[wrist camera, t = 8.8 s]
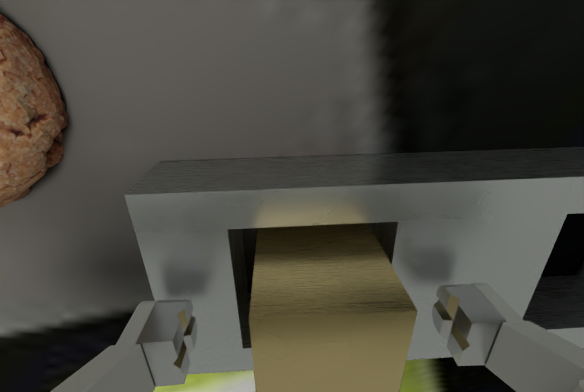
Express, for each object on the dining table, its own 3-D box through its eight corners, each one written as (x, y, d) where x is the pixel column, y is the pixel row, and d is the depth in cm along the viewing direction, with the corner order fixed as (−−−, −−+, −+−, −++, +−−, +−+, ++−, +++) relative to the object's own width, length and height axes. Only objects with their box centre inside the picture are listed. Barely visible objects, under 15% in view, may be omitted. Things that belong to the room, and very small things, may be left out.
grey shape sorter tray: (705, 142, 12) (829, 166, 9) (617, 291, 16) (690, 341, 13) (160, 161, 11) (124, 194, 9) (194, 316, 15) (176, 375, 12)
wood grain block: (355, 200, 12) (417, 310, 7) (348, 275, 14) (394, 411, 9) (259, 203, 12) (248, 319, 7) (264, 279, 14) (258, 420, 9)
